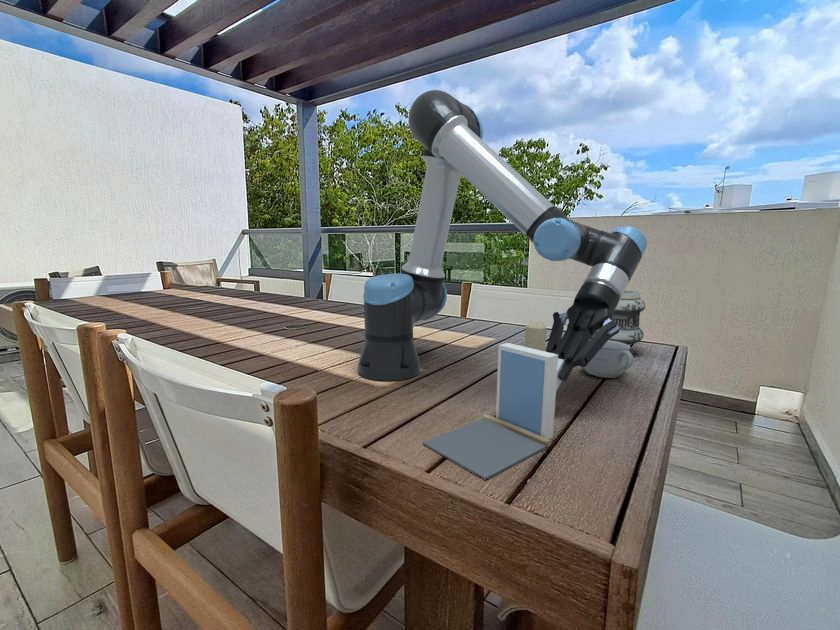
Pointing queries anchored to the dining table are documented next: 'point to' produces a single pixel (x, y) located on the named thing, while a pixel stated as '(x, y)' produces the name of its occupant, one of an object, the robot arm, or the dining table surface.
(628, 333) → the apothecary jar
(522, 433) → the oak strip
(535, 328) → the candle
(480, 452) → the mat
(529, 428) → the tile
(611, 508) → the dining table surface
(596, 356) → the teacup
